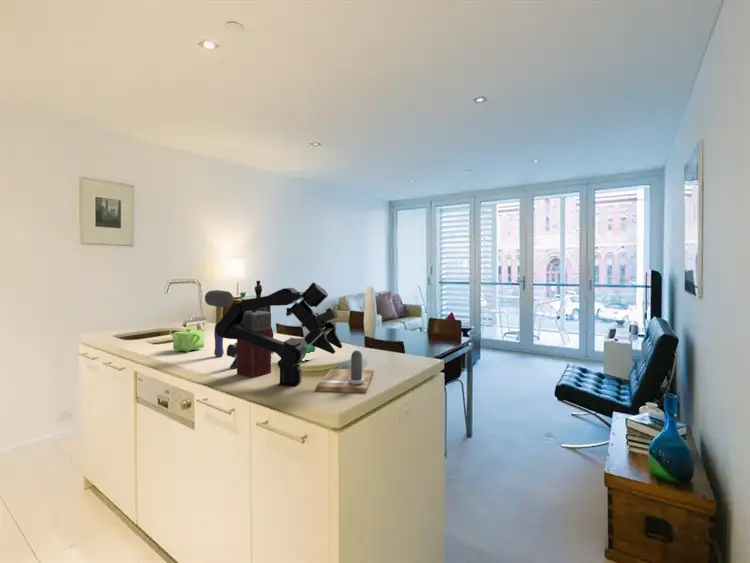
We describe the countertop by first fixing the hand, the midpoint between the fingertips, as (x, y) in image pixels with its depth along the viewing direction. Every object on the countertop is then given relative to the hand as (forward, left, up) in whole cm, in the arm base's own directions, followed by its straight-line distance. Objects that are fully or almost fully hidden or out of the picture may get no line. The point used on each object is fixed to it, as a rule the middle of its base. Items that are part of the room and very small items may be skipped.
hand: (338, 350), depth 132 cm
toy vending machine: (-34, +13, -12) cm, 38 cm away
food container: (-22, +36, -12) cm, 44 cm away
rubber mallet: (-62, +38, -12) cm, 74 cm away
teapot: (-83, +49, -13) cm, 97 cm away
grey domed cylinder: (+6, 0, -11) cm, 12 cm away
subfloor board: (+2, +5, -12) cm, 14 cm away
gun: (-42, +27, -13) cm, 52 cm away
